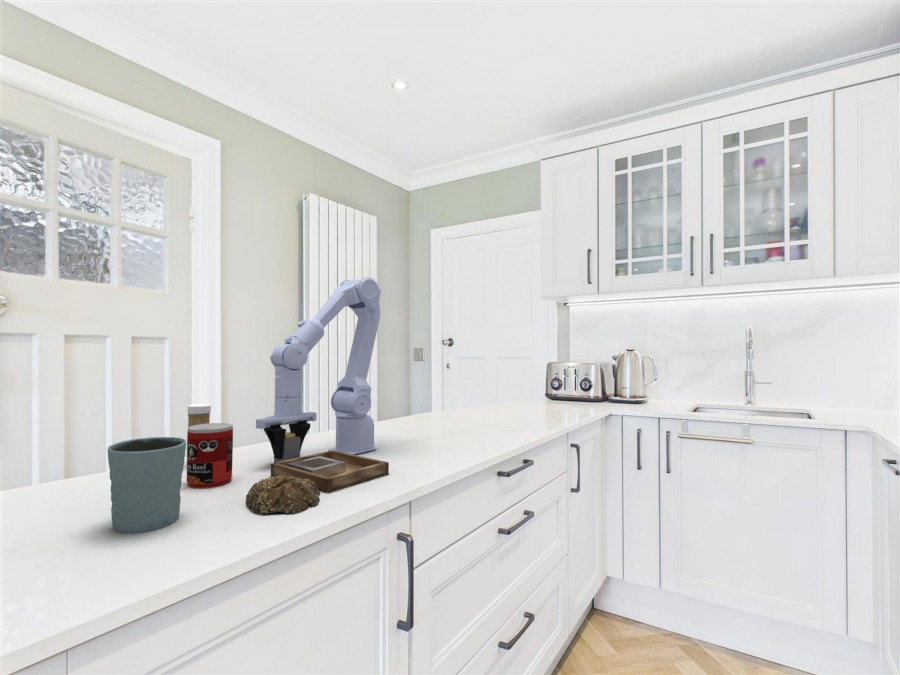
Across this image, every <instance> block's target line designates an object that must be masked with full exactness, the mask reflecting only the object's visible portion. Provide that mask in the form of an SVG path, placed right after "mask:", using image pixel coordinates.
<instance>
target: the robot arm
mask: <svg viewBox="0 0 900 675" xmlns="http://www.w3.org/2000/svg"><path fill="white" fill-rule="evenodd" d="M381 293H382V290H381V288H380V286H379V285H378V283H377V281H376V280H375V279H374V278H373V277H371V276H366V277H362V278H355V279H345V280H343V281H341V282H340V284H339V285H338V286H336V287H335V288H334V290H333V293H332V294H331V295H330V297H329V298H328V299H327V300H326V302H324V304H323V305H322V307H320V309H319V310H318V312H316V314H315V315H314V316H313V318H306V319H304V320H299V322H298V323H297V324H296V325H297V326H298V327H297V328H296V329H295V330H294V331H293V332H292V333H291V334H290V335H289V336H286V337H285V338H284V343H281V344H279V345H276V346H275V347H274V348H273V351H272V354H271V355H270V356H269V360H270V362H271V364H272V365H273V367H274V412H273V413H274V415H271V416H270V415H269V416H266V417H262V418H256V420H255V429H260V430H263V432H264V433H265V435H266V436H267V439H268V440H269V443H270V445H271V448H272V449H271V450H272V453H273V459H274V458H276V459H282V456H283V442H284V437H285V433H287V429H286V428H283V427H282V426H287V425H288V428H289V432H291V433H295V436H298V437H300V452H301V450H302V446H303V443H304V441H305V438H306V436H307V434H308V432H309V431H310V429H311V423H309V422H316V421H317V412H314V411H308V412H302V376H303V375H302V374H303V373H302V370H303V368H302V367H303V366H304V365H306V364H307V361H308V354H309V353H310V352H311V351H312V350H313V348H315V346H316V345H317V344H318V343H319V342H320V340H322V338H323V337H324V335H325V327H326V326H328V325H329V323H330V322H331V321H332V320H333V319H334V318H335V317H336V316H337V315H338V314H339V313H340V312H341V311H342V310H343V309H344V308H345V307H347V308H349V309H350V310H351V311H353V312H354V314H355V315H356V317H357V321H356V327H355V329H354V330H355V331H354V335H353V340H352V345H351V347H350V348H351V349H350V351H349V352H350V353H349V358H348V361H347V364H346V371H345V375H344V377H342V379H340V380H339V382H337V386H336V388H335V390H334V392H333V393H332V394H331V398H330V406H331V409H332V410H333V411H334V415H335V448H329V449H328V450H327V451H331V450H334V451H339V452H343V453H348V454H353V455H359V454H363V453H367V452H371V451H375V450H377V447H375V422H374V420H373V417H372V416H370V415H368V413H369V412H370V410H371V407H372V396H371V394H372V393H371V392H372V387H371V386H370V384H369V383H368V381H367V377H368V374H369V369H370V365H371V360H372V356H373V352H374V351H373V350H374V346H375V341H376V337H377V332H378V328H379V323H380V321H381V320H380V319H381V308H380V299H381V298H380V297H381Z"/></svg>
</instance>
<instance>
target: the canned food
mask: <svg viewBox="0 0 900 675" xmlns="http://www.w3.org/2000/svg"><path fill="white" fill-rule="evenodd" d="M186 437H187V438H186V439H187V440H186V483H187V486H188V487H190V488H193V489H209V488H215V487H221V486H223V485H227V484H228V483H229V482H231V480H232V477H233V458H234V457H233V452H234V451H233V450H234V448H233V446H234V444H233V443H234V427H233V424H231V423H227V422H211V423H208V424H199V425H194V426H190V427H188V426H187V436H186Z"/></svg>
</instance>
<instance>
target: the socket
mask: <svg viewBox="0 0 900 675" xmlns="http://www.w3.org/2000/svg"><path fill="white" fill-rule="evenodd" d="M287 466H289V467H293V468H296V469H300V470H304V471H308V472H311V473H315V474H319V475H322V476H326V477H328V476H332V475H336V474H339V473H343V472H346V462H343V461H339V460H334V459H330V458H326V457H322V456H318V457H314V458H309V459H305V460H300V461H296V462H292V463H287Z"/></svg>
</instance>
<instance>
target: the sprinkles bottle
mask: <svg viewBox="0 0 900 675" xmlns="http://www.w3.org/2000/svg"><path fill="white" fill-rule="evenodd" d="M211 409H212V406H211V404H210V403H192V404H189V405H187V416H188V421H187V422H188V423H187V424H188V425H187V428H188V427H190V426H194V425H199V424H208V423H210V421H211V420H210V419H211V418H210V417H211V416H210V415H211V411H212V410H211Z"/></svg>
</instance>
